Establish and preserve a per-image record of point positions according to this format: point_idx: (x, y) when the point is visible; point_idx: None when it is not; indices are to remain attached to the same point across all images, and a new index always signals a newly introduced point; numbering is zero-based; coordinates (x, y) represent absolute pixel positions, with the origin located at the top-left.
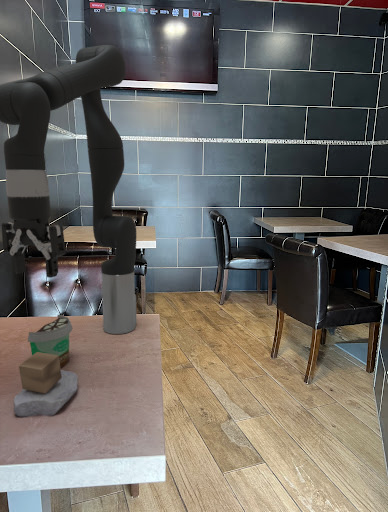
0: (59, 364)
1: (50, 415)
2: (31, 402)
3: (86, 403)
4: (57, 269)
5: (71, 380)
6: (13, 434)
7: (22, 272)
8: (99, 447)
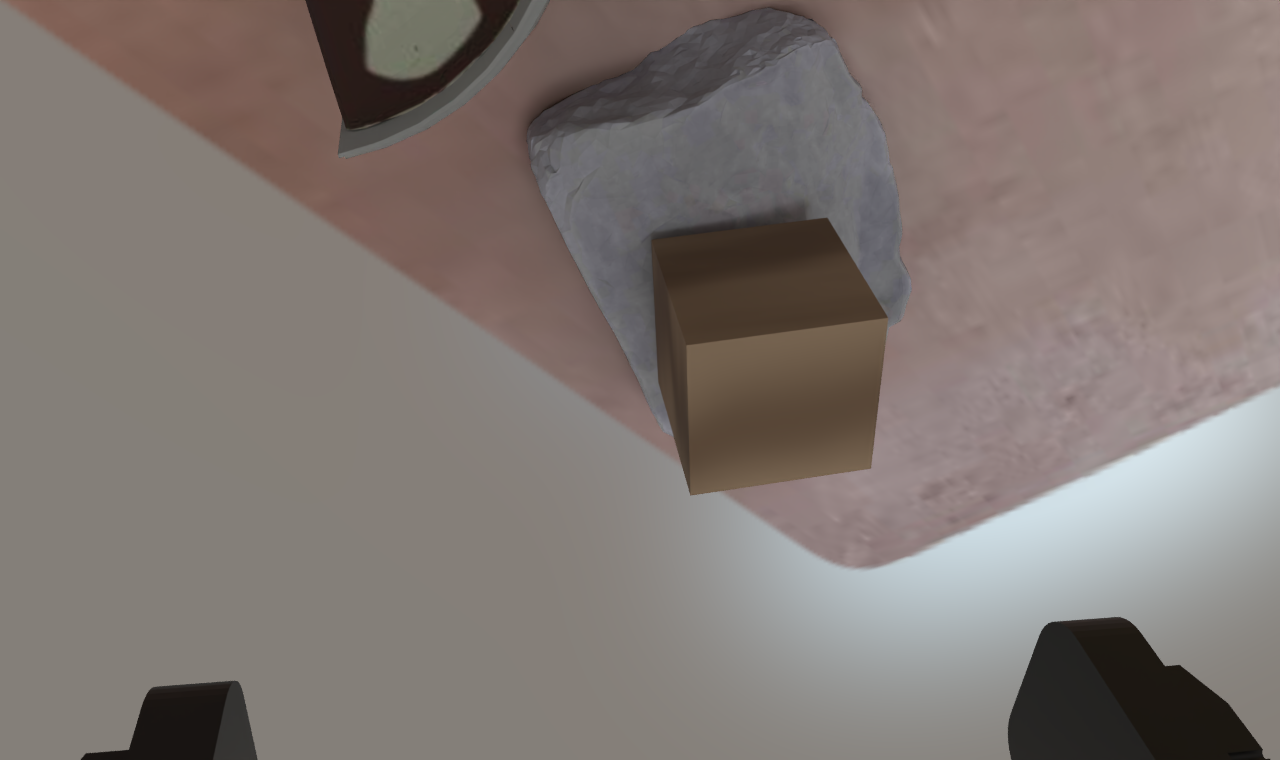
0: (862, 279)
1: None
2: None
3: (965, 164)
4: (1246, 752)
5: (835, 122)
6: None
7: (246, 724)
8: (1161, 389)
